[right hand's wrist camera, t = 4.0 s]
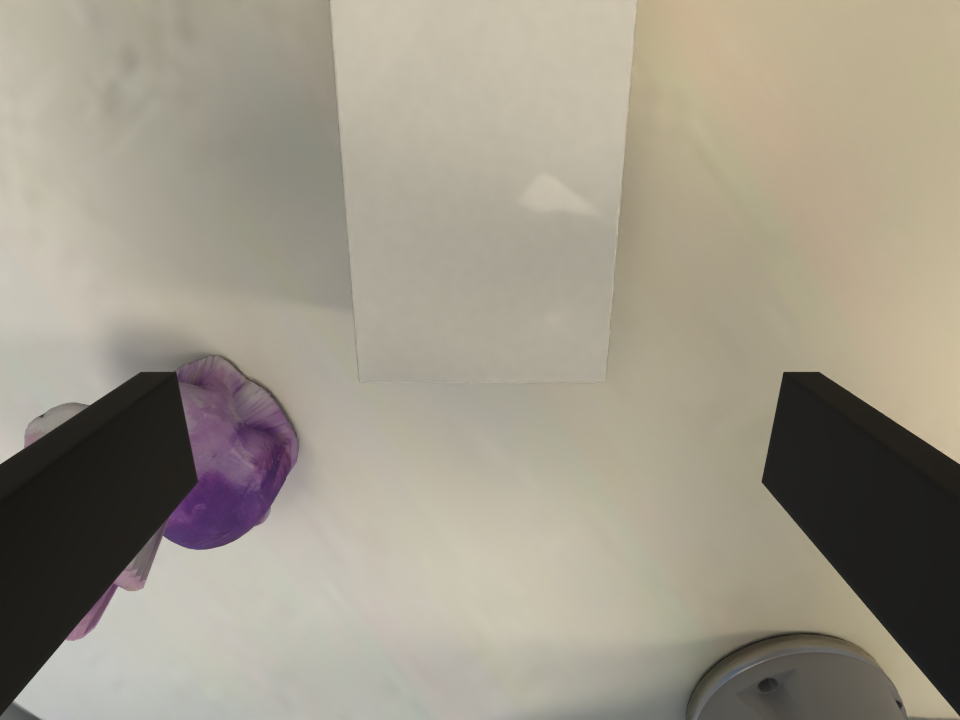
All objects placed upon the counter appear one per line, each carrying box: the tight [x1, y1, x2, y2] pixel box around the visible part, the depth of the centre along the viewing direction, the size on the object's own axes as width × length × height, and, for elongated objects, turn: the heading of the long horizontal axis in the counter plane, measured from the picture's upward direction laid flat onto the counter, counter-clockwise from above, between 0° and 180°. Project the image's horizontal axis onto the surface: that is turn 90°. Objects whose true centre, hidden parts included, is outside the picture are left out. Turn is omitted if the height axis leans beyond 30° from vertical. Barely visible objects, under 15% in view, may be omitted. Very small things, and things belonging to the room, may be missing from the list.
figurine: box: [24, 356, 298, 641], centre depth 28 cm, size 9×10×15 cm
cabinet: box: [329, 0, 638, 383], centre depth 25 cm, size 21×10×10 cm, turn 0°
